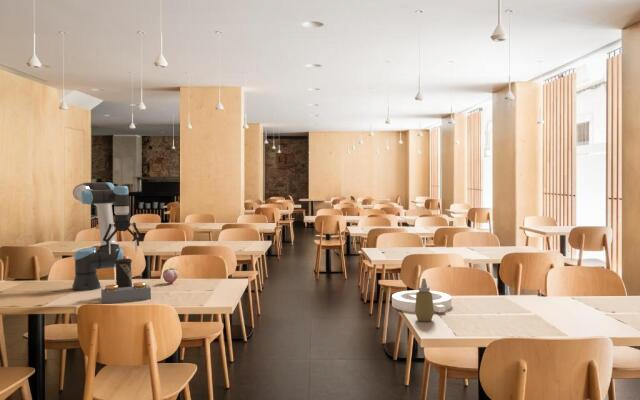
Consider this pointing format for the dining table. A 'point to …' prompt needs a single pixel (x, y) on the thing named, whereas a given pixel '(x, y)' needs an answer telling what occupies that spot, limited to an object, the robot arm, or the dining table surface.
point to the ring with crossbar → (408, 301)
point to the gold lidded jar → (139, 285)
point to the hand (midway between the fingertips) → (123, 253)
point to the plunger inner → (111, 287)
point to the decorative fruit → (170, 275)
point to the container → (123, 273)
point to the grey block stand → (125, 294)
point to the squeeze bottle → (424, 303)
